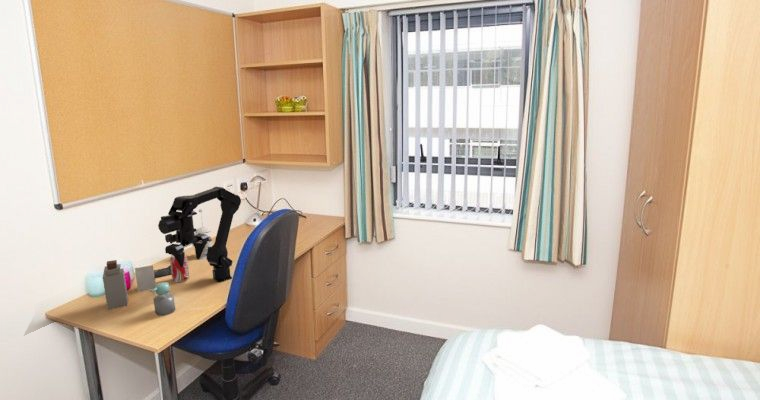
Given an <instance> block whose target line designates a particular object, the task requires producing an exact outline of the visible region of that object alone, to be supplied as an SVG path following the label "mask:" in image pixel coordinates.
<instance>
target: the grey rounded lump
mask: <svg viewBox="0 0 760 400" xmlns="http://www.w3.org/2000/svg"><path fill="white" fill-rule="evenodd" d="M165 296H166V297H165V298H162V297H161V295H156V296H154V298H153V306H154V314H155V315H157V316H159V317H160V316H161V317H162V316H167V315H170V314H173V313H174V312H175V311H176V304H175V303H176V302H175V296H174V294H173V293H167V294H165Z"/></svg>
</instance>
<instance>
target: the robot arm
mask: <svg viewBox="0 0 760 400" xmlns="http://www.w3.org/2000/svg"><path fill="white" fill-rule="evenodd" d="M215 199H217V200H218V201H219V202H220V208H221V215H220V220H219V225H218V228H217V232H216V236H215V240H214V242H213V246H212V247H210V246H209V247H208V251H207V254H206V256H207V259H206V260H207V262H208V264H209V265H210V266H211V267H212V279H213V280H215V281H216V282H218V283H220V282H224V281H227V280H232V279H233V277H232V276H231V269H230V267H232V266H233V265H232V264H233V260H232V259H230V258H229V257H228V253H229V252H228V248H227V243H228V239H229V235H230V231H231V226H232V222H233V218H234V215H235V214H236V213H237V212H238V210H239V209H240V206H241V203H242V199H241V197H240V196H239V194H235V193H234V192H231V191H230V190H227V189H226V188H224V187H222V186H214V187H212V188H210V189H207V190H204V191H200V192H198V193H196V194H191V195H182V196H177V197H175V198H174V199H173V202H172V205H171V206H170V209H169V211H168V213H167V214H168V215H163V216H160V220H159V221H158V224H157V227H158V229H159V231H160V233H162V234H163V235H165V237H164V238H165V239H164V240H165V242H166V243H169V245H166V247H165V248H164V252H165V254H168V255H170V256H171V255H173V256H174V257H175V258H176V260H177V262H178V264H179V265H180V267H183V265H184V255H185V256H186V253H185V252H184V251H185V248H186V247H189V246H191V245H192V246H193V247H194V251H195V259H196V260H201V259H200V257H201V254H202V252H203V249H204V247H205V245H206V244H207V242H209V236H210V235H208V233H204V234H196V233H195V231H196V230H197V228H195V227H194V220H193V218H194V217H193V216H195V215H197V214H198V212H196V211H194V210H195V209H197V208H198V206H199V205H203V204H204V203H206V202H209V201H212V200H215ZM174 232H175V233H174ZM172 233H174V234H172ZM194 233H195V234H196V235H195V234H194ZM175 242H176V243H175Z"/></svg>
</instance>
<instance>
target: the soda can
mask: <svg viewBox="0 0 760 400" xmlns="http://www.w3.org/2000/svg"><path fill="white" fill-rule="evenodd" d="M187 257H188V256H186V254H185V255H184V265H183V267H180V265H179V264H178V262H177V260H176V258H175V257H174V256H173V255H170V260H169V266H170V265H171V273H172V275H171V278H172V281H174V282H175V283H182V282H185V281H187V280H188V279H190V278H189V277H190V272H189V271H190V269H189V262H188V261H189V260H188V258H187Z"/></svg>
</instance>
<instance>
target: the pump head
mask: <svg viewBox="0 0 760 400" xmlns="http://www.w3.org/2000/svg"><path fill="white" fill-rule="evenodd" d="M154 292H155V295H156V296H158V295H161V297H162V298H165V297H166V296H165V294H170V283H169V282H166V281H165V282H163V281H162V282H159V283H155V288H154V289H151V290H150V293H151V294H153V293H154Z"/></svg>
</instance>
